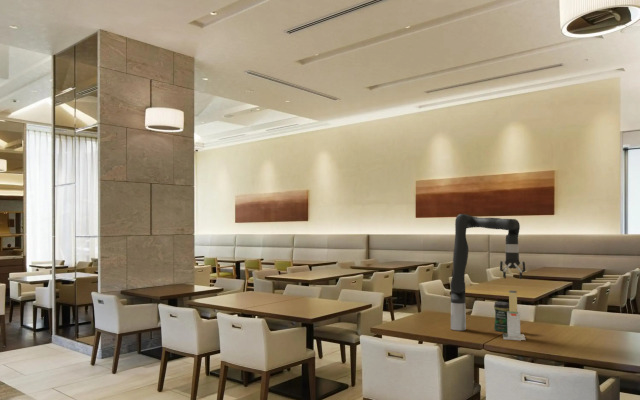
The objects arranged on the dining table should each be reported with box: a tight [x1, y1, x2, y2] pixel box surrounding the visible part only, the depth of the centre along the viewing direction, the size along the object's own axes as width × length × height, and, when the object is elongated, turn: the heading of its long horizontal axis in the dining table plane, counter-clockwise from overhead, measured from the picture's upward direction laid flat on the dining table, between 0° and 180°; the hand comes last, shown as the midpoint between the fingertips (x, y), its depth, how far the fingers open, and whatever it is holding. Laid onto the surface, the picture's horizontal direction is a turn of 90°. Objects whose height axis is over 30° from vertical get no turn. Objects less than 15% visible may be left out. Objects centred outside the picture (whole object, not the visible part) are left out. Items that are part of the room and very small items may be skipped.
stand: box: [502, 311, 526, 341], centre depth 287 cm, size 12×12×15 cm
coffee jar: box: [493, 301, 509, 333], centre depth 307 cm, size 10×8×19 cm
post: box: [508, 290, 518, 313], centre depth 288 cm, size 4×4×21 cm
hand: (512, 278), depth 289 cm, fingers open, 8 cm apart
